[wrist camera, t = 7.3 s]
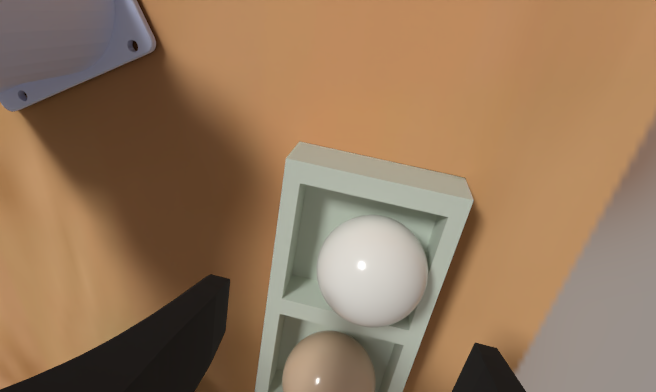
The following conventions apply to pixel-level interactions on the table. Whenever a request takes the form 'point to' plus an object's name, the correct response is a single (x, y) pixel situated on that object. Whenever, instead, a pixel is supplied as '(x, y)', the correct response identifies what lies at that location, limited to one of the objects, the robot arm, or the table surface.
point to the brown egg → (328, 365)
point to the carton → (321, 219)
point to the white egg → (372, 270)
